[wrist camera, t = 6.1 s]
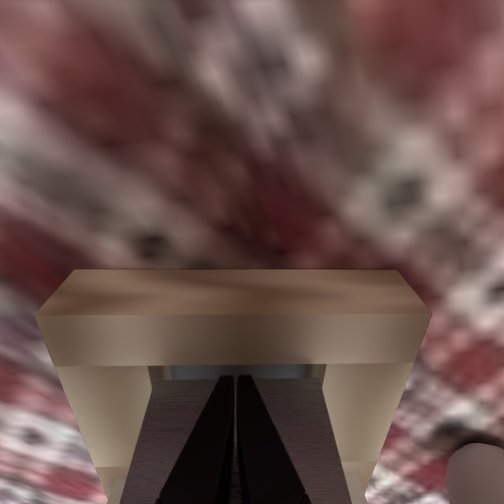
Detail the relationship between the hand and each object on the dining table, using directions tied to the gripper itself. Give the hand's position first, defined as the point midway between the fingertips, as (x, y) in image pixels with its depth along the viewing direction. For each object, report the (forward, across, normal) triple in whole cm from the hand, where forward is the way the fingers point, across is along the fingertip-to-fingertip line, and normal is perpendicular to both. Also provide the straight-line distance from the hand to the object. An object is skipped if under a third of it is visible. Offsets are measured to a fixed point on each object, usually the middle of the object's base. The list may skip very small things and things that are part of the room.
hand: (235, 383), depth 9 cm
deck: (+5, 0, +14) cm, 15 cm away
